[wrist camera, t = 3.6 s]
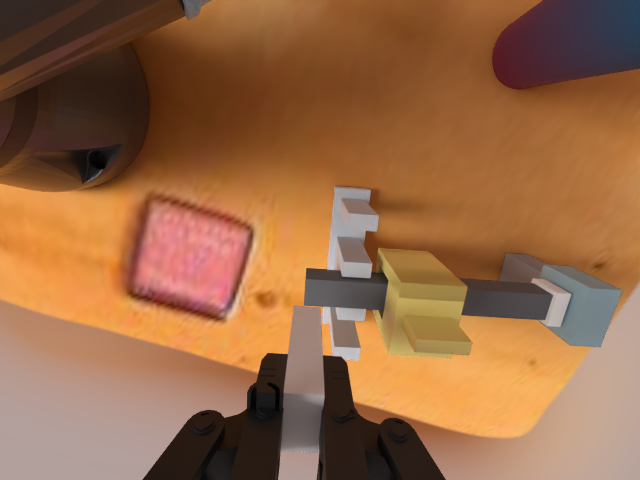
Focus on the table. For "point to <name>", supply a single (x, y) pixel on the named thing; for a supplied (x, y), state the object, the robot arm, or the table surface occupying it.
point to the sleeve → (420, 306)
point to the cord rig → (482, 295)
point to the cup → (568, 42)
